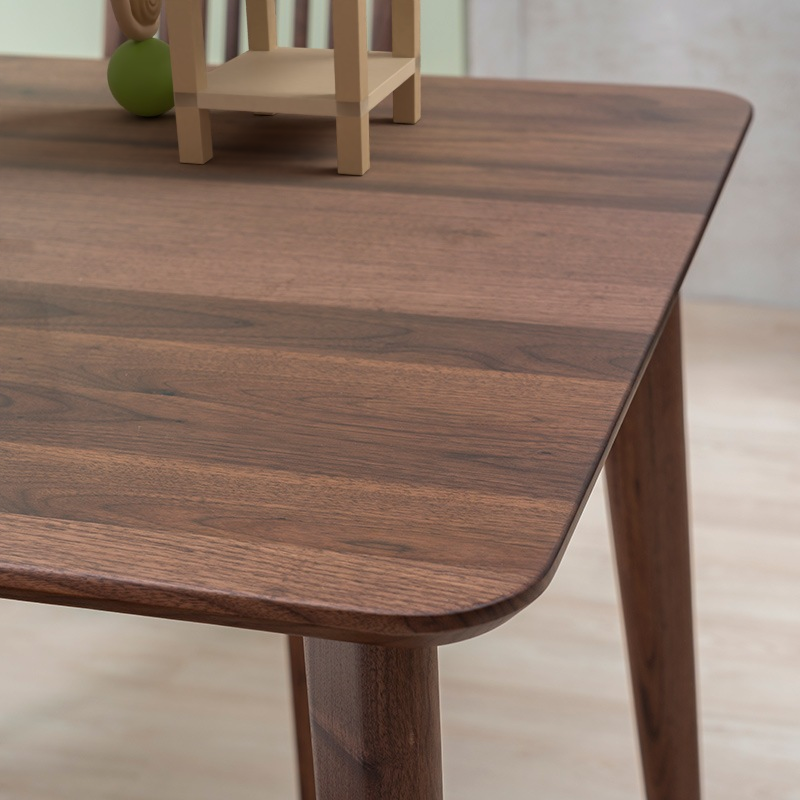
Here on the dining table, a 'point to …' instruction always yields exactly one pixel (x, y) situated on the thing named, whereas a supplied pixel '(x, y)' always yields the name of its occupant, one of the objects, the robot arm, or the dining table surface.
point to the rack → (296, 76)
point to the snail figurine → (141, 60)
